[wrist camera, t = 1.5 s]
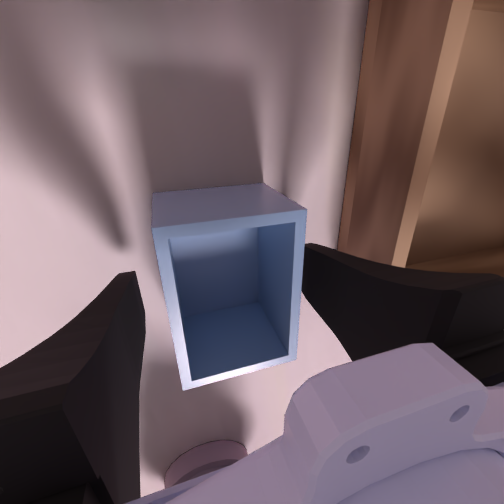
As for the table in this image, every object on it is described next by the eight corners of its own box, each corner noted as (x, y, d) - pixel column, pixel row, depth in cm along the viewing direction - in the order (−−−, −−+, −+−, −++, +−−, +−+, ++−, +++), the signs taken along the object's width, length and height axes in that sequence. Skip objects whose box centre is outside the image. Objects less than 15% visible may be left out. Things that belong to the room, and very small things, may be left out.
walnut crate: (497, 249, 21) (565, 276, 17) (332, 283, 17) (377, 324, 14) (596, 8, 14) (733, -25, 11) (372, -20, 11) (472, -83, 7)
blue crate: (262, 302, 16) (296, 359, 12) (175, 320, 15) (182, 391, 11) (262, 182, 13) (307, 209, 9) (152, 192, 12) (151, 228, 8)
